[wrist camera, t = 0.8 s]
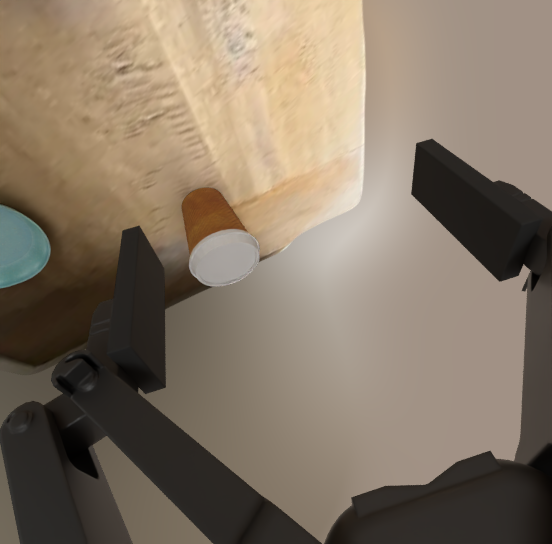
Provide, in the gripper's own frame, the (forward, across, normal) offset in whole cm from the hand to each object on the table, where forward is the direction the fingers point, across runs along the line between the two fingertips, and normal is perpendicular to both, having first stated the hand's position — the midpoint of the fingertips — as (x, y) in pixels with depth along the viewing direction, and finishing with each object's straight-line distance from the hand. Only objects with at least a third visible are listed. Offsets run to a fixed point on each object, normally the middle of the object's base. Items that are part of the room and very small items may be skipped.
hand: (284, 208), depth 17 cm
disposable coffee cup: (+32, -7, -18) cm, 38 cm away
